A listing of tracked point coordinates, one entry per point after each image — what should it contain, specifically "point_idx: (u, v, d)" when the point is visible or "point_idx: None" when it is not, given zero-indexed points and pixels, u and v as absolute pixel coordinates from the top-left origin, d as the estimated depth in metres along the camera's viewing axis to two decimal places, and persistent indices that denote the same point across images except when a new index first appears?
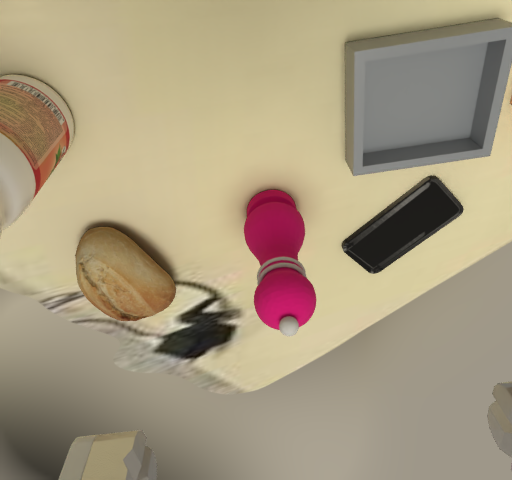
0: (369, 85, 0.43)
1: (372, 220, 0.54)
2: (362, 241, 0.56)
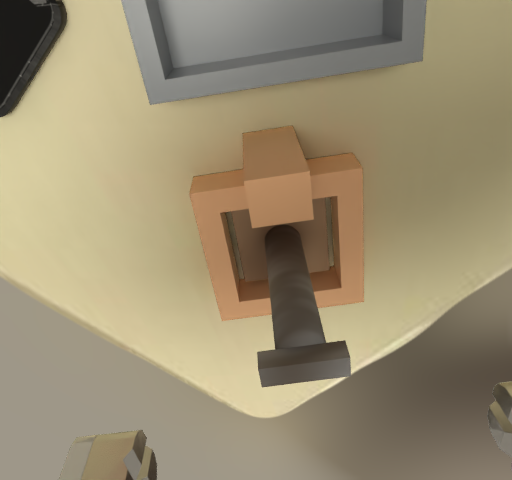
0: None
1: None
2: None
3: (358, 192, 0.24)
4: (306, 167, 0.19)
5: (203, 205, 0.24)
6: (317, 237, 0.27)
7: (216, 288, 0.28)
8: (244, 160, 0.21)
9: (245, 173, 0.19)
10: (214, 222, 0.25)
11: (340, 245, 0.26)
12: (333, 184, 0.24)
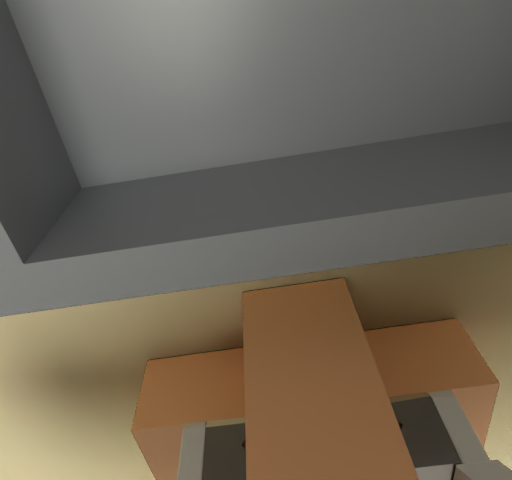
0: None
1: None
2: None
3: (481, 418, 0.12)
4: None
5: (162, 446, 0.12)
6: None
7: None
8: (248, 430, 0.08)
9: None
10: None
11: None
12: None
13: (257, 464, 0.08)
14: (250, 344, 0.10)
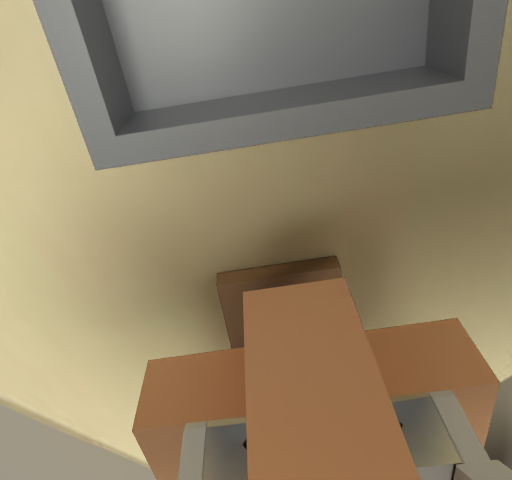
0: None
1: None
2: None
3: (482, 417, 0.12)
4: None
5: (163, 445, 0.12)
6: None
7: None
8: (249, 430, 0.08)
9: None
10: None
11: None
12: None
13: (258, 463, 0.08)
14: (251, 344, 0.10)
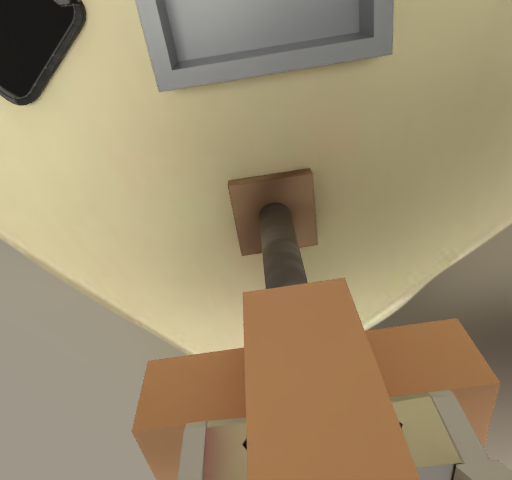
0: None
1: None
2: None
3: (482, 418, 0.12)
4: None
5: (162, 446, 0.12)
6: (306, 214, 0.31)
7: None
8: (249, 430, 0.08)
9: None
10: None
11: None
12: None
13: (258, 464, 0.08)
14: (251, 344, 0.10)
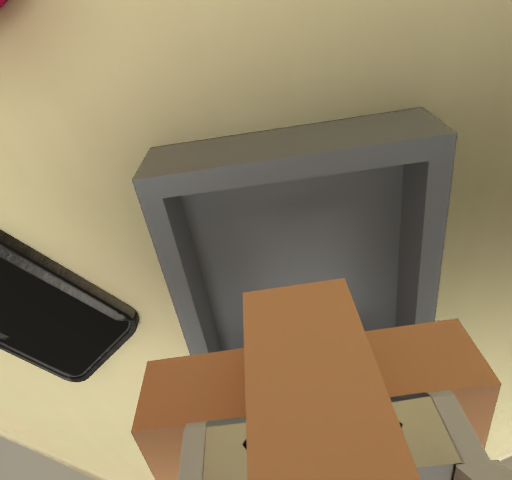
0: None
1: (0, 234, 0.22)
2: None
3: (482, 418, 0.12)
4: None
5: (162, 447, 0.12)
6: None
7: None
8: (249, 432, 0.08)
9: None
10: None
11: None
12: None
13: (258, 466, 0.08)
14: (251, 345, 0.10)
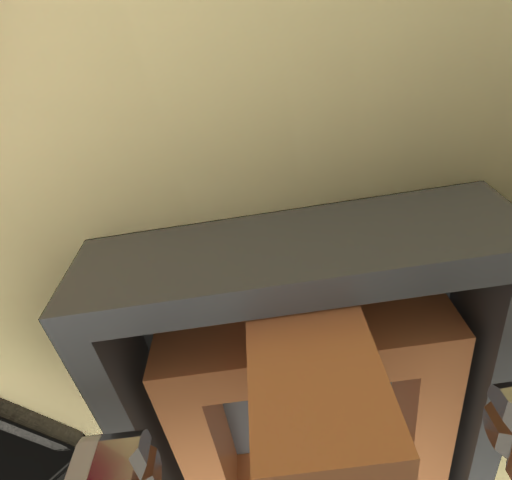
0: None
1: None
2: None
3: (460, 372, 0.13)
4: (405, 433, 0.08)
5: (170, 397, 0.13)
6: None
7: None
8: (249, 366, 0.09)
9: (252, 432, 0.08)
10: (191, 419, 0.14)
11: (415, 443, 0.15)
12: (416, 362, 0.13)
13: (257, 391, 0.09)
14: None
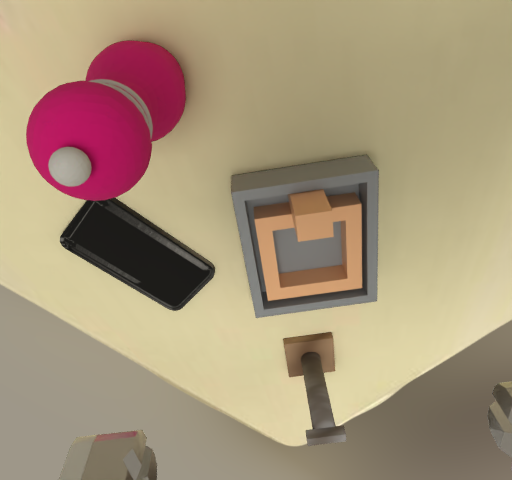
0: None
1: (147, 221, 0.42)
2: (112, 216, 0.41)
3: (358, 218, 0.39)
4: (330, 208, 0.34)
5: (262, 226, 0.39)
6: (328, 356, 0.52)
7: (266, 278, 0.42)
8: (292, 201, 0.35)
9: (294, 210, 0.34)
10: (268, 236, 0.40)
11: (347, 251, 0.41)
12: (343, 213, 0.39)
13: (295, 205, 0.35)
14: None
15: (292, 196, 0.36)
